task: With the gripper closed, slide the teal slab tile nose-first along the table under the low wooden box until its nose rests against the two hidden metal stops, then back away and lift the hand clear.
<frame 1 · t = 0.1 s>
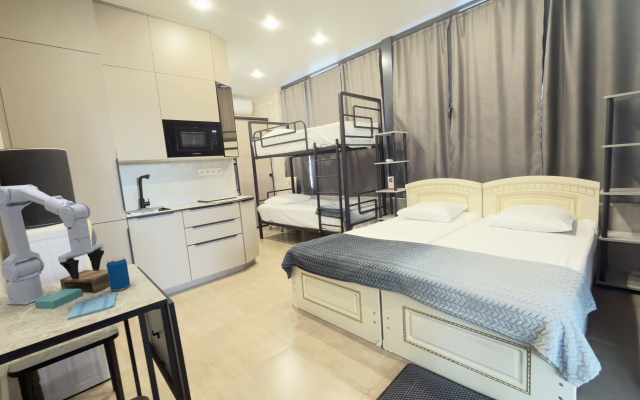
hand: (86, 274, 100), 10 cm above the table, tool pointing down, fingers open, 7 cm apart
beverage can: (120, 288, 111), on the table
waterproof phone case: (94, 307, 97), on the table
wooden box: (91, 287, 114), on the table
teal slab tile: (60, 302, 103), on the table
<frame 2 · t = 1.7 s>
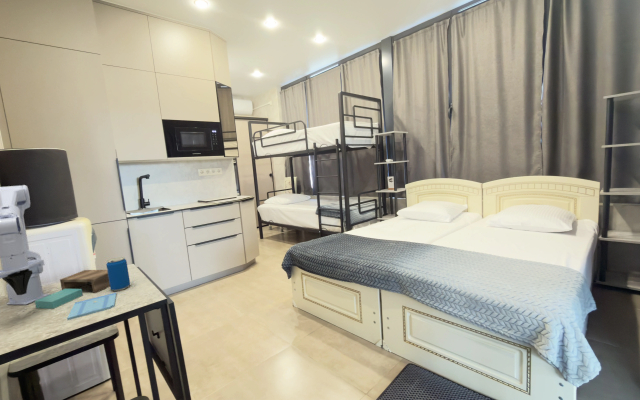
hand: (21, 294, 91), 8 cm above the table, tool pointing down, fingers closed
nothing on the table moved.
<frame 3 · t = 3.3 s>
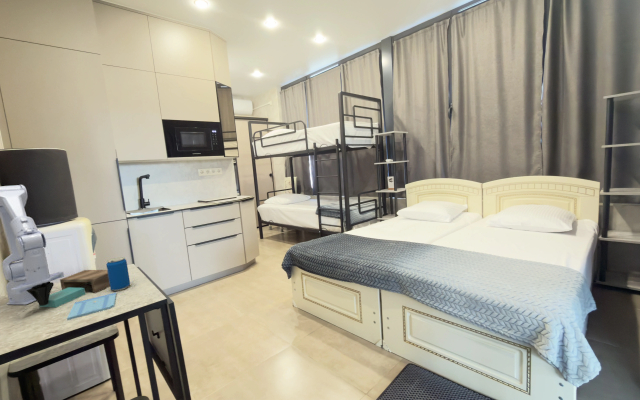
hand: (43, 304, 97), 1 cm above the table, tool pointing down, fingers closed
teal slab tile: (63, 301, 104), on the table, touching gripper
everything else where it was.
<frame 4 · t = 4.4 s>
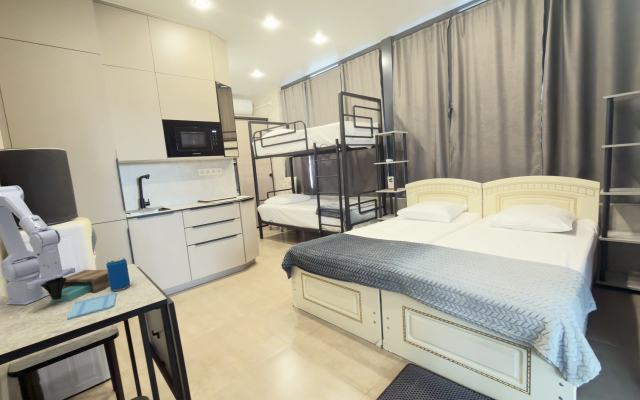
hand: (56, 298, 102), 1 cm above the table, tool pointing down, fingers closed
teal slab tile: (74, 296, 108), on the table, touching gripper
everything else where it was.
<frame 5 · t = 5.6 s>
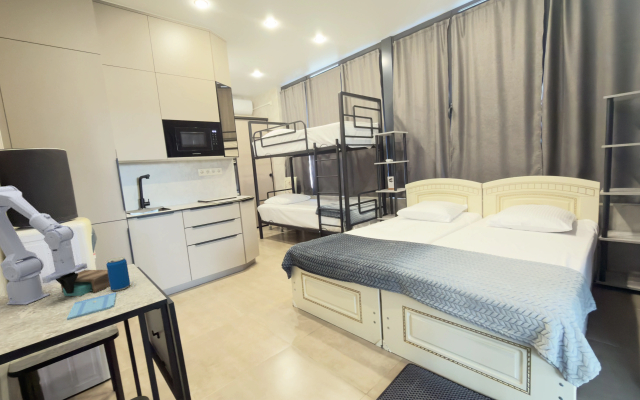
hand: (70, 293, 106), 1 cm above the table, tool pointing down, fingers closed
teal slab tile: (85, 290, 112), on the table, touching wooden box, gripper
everything else where it was.
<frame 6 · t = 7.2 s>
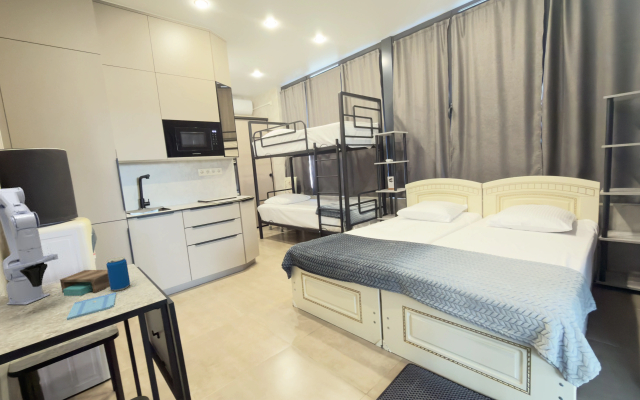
hand: (37, 286, 96), 8 cm above the table, tool pointing down, fingers closed
teal slab tile: (85, 291, 112), on the table
everything else where it was.
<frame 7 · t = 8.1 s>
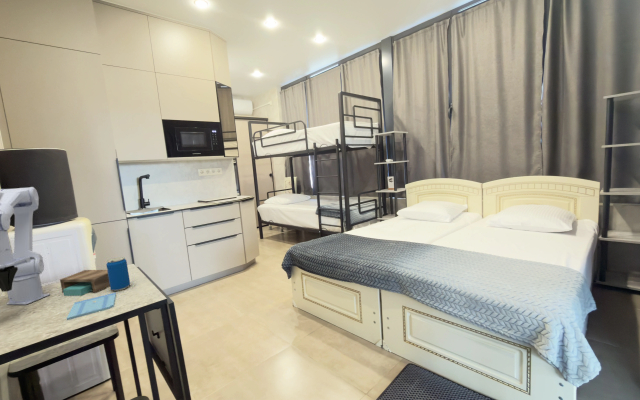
hand: (6, 290, 92), 9 cm above the table, tool pointing down, fingers closed
nothing on the table moved.
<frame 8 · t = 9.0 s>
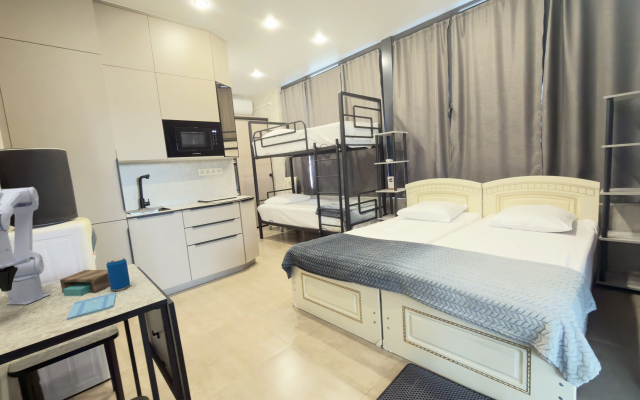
hand: (6, 290, 92), 9 cm above the table, tool pointing down, fingers closed
nothing on the table moved.
at the end: teal slab tile 0.2 cm from the target spot, on the table; teal slab tile tilted 0° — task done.
